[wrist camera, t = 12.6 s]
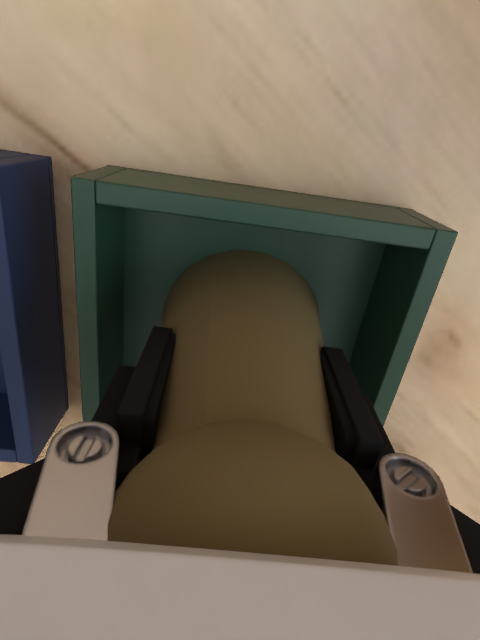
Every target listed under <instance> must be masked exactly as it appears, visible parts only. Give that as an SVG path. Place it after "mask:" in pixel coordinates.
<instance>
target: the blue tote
mask: <svg viewBox="0 0 480 640" xmlns="http://www.w3.org/2000/svg"><path fill="white" fill-rule="evenodd" d="M67 409H68V396H67V381H66V367H65V352H64V338H63V323H62V309H61V294H60V280H59V266H58V251H57V237H56V222H55V208H54V193H53V179H52V165H51V157H49V156H42V155H35V154H28V153H21V152H14V151H7V150H0V461H6V462H19V463H27V464H33V463H35V461H36V460H37V458H38V456H39V455H40V453H41V451H42V450H43V448H44V447H45V445H46V443H47V442H48V440H49V438H50V437H51V435H52V433H53V432H54V430H55V428H56V427H57V425H58V423H59V422H60V420H61V419H62V417H63V415H64V414H65V412H66V411H67Z"/></svg>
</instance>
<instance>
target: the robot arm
mask: <svg viewBox="0 0 480 640" xmlns="http://www.w3.org/2000/svg"><path fill="white" fill-rule="evenodd" d="M172 331H173V329H172V328H167V327H158V326H154V327H153V328H152V331H151V333H150V336H149V338H148V340H147V343H146V345H145V347H144V350H143V352H142V354H141V357H140V359H139V361H138V364H137V366H136V367H133V366H124V365H120V366H119V367H118V368H117V370H116V372H115V374H114V376H113V378H112V380H111V382H110V384H109V386H108V388H107V390H106V392H105V394H104V396H103V398H102V400H101V402H100V404H99V406H98V408H97V410H96V412H95V414H94V416H93V418H92V420H91V421H83V422H78V423H75V424H71V425H69V426H67V427H65V428H63V429H62V430H60V431H59V432H58V433H57V434H56V435H55V436H54V437H53V438H52V440H51V442H50V444H49V447H48V450H47V453H46V457H45V458H44V459H42V460H40V461H38V462H36V463H33V464H31V465H29V466H27V467H24V468H22V469H20V470H18V471H16V472H13V473H11V474H9V475H7V476H4V477H2V478H0V640H480V524H478V523H477V522H475V521H474V520H472V519H471V518H469V517H468V516H466V515H465V514H463V513H462V512H460V511H459V510H457V509H456V508H454V507H453V506H451V505H450V503H449V501H448V498H447V495H446V492H445V489H444V486H443V483H442V481H441V480H440V478H439V476H438V475H437V474H436V472H435V471H434V470H433V469H432V468H431V467H429V466H428V465H427V464H426V463H424V462H423V461H421V460H419V459H417V458H415V457H413V456H410V455H407V454H403V453H395V451H394V449H393V447H392V445H391V443H390V441H389V439H388V437H387V435H386V432H385V430H384V428H383V426H382V424H381V422H380V420H379V418H378V416H377V413H376V411H375V409H374V407H373V405H372V403H371V401H370V399H369V397H368V395H367V394H365V393H362V392H361V390H360V387H359V385H358V383H357V381H356V379H355V377H354V374H353V372H352V370H351V368H350V366H349V363H348V361H347V359H346V357H345V355H344V352H343V350H342V349H340V348H332V347H324V346H323V347H322V348H321V350H322V351H320V360H321V365H322V370H323V376H324V381H325V386H326V391H327V397H328V402H329V407H330V412H331V419H332V427H333V436H334V444H335V452H336V454H337V455H339V456H340V457H341V458H343V459H344V460H345V461H347V462H348V463H349V464H350V465H352V467H353V468H354V469H355V471H356V472H357V474H358V475H359V476H360V478H361V479H362V481H363V482H364V483H365V485H366V486H367V488H368V489H369V491H370V492H371V494H372V496H373V497H374V499H375V501H376V503H377V504H378V506H379V508H380V509H381V511H382V513H383V515H384V516H385V518H386V521H387V524H388V527H389V530H390V532H391V535H392V537H393V540H394V542H395V545H396V547H397V554H398V566H395V565H384V564H373V563H362V562H351V561H341V560H329V559H318V558H307V557H295V556H284V555H272V554H261V553H249V552H237V551H226V550H214V549H202V548H190V547H178V546H165V545H153V544H140V543H128V542H116V541H108V521H109V518H110V515H111V512H112V510H113V504H114V496H115V492H116V490H117V489H118V488H119V486H120V485H121V483H122V482H123V480H124V479H125V477H126V476H127V475H128V473H129V472H130V471H131V470H132V469H133V468H134V467H135V466H136V465H137V464H138V463H140V462H141V461H142V460H143V459H144V458H145V457H146V456H147V455H148V454H150V453H151V451H152V448H153V443H154V438H155V433H156V428H157V423H158V418H159V413H160V408H161V404H162V399H163V395H164V391H165V386H166V382H167V378H168V373H169V369H170V365H171V361H172V356H173V352H174V348H175V343H176V334H175V333H172Z"/></svg>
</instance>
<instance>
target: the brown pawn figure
mask: <svg viewBox="0 0 480 640" xmlns="http://www.w3.org/2000/svg"><path fill="white" fill-rule="evenodd" d="M161 327H167V328H172V329H173V331H172V333H175V334H176V343H175V348H174V352H173V356H172V361H171V365H170V369H169V373H168V378H167V382H166V386H165V391H164V395H163V399H162V404H161V408H160V413H159V418H158V423H157V428H156V433H155V438H154V443H153V448H152V451H151V453H150V454H148V455H147V456H146V457H145V458H144V459H143V460H142V461H141V462H140V463H138V464H137V465H136V466H135V467H134V468H133V469H132V470H131V471H130V472H129V473H128V475H127V476H126V477H125V479H124V480H123V482H122V483H121V485H120V486H119V488H118V489H117V490H116V492H115V496H114V504H113V510H112V512H111V515H110V518H109V521H108V541H116V542H128V543H140V544H153V545H165V546H178V547H190V548H202V549H214V550H226V551H237V552H249V553H261V554H272V555H284V556H295V557H307V558H318V559H329V560H341V561H351V562H362V563H373V564H384V565H395V566H398V554H397V547H396V545H395V542H394V540H393V537H392V535H391V532H390V530H389V527H388V524H387V521H386V518H385V516H384V515H383V513H382V511H381V509H380V508H379V506H378V504H377V503H376V501H375V499H374V497H373V496H372V494H371V492H370V491H369V489H368V488H367V486H366V485H365V483H364V482H363V481H362V479H361V478H360V476H359V475H358V474H357V472H356V471H355V469H354V468H353V467H352V465H350V464H349V463H348V462H347V461H345V460H344V459H343V458H341V457H340V456H339V455H337V454H336V452H335V444H334V436H333V427H332V419H331V412H330V407H329V402H328V397H327V391H326V386H325V381H324V376H323V370H322V365H321V360H320V351H322V350H321V348H322V347H323V344H322V336H321V328H320V319H319V311H318V303H317V300H316V298H315V296H314V294H313V292H312V290H311V288H310V286H309V284H308V282H307V280H306V279H305V278H303V277H302V276H301V275H300V274H299V273H298V272H297V271H296V270H295V269H294V268H293V267H292V266H291V265H290V264H289V263H286V262H284V261H282V260H280V259H278V258H276V257H273V256H271V255H269V254H267V253H264V252H256V251H247V250H239V249H237V250H232V251H227V252H222V253H216V254H212V255H210V256H208V257H206V258H204V259H202V260H201V261H199V262H197V263H195V264H193V265H191V266H190V267H188V268H187V270H186V271H185V272H184V273H183V274H182V275H181V276H180V277H179V278H178V279H177V280H176V282H175V283H174V284H173V285H172V287H171V289H170V292H169V294H168V297H167V299H166V301H165V304H164V306H163V315H162V325H161Z"/></svg>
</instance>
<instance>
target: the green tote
mask: <svg viewBox="0 0 480 640" xmlns="http://www.w3.org/2000/svg"><path fill="white" fill-rule="evenodd" d="M71 194H72V214H73V234H74V254H75V274H76V295H77V315H78V335H79V355H80V375H81V395H82V415H83V421H91V420H92V418H93V416H94V414H95V412H96V410H97V408H98V406H99V404H100V402H101V400H102V398H103V396H104V394H105V392H106V390H107V388H108V386H109V384H110V382H111V380H112V378H113V376H114V374H115V372H116V370H117V368H118V367H119V366H120V365H124V366H133V367H136V366H137V364H138V361H139V359H140V357H141V354H142V352H143V350H144V347H145V345H146V343H147V340H148V338H149V336H150V333H151V331H152V328H153V327H154V326H158V327H161V325H162V315H163V306H164V304H165V301H166V299H167V297H168V294H169V292H170V289H171V287H172V285H173V284H174V283H175V282H176V280H177V279H178V278H179V277H180V276H181V275H182V274H183V273H184V272H185V271H186V270H187V268H188V267H190V266H191V265H193V264H195V263H197V262H199V261H201V260H202V259H204V258H206V257H208V256H210V255H212V254H216V253H222V252H227V251H232V250H237V249H239V250H247V251H256V252H264V253H267V254H269V255H271V256H273V257H276V258H278V259H280V260H282V261H284V262H286V263H289V264H290V265H291V266H292V267H293V268H294V269H295V270H296V271H297V272H298V273H299V274H300V275H301V276H302V277H303V278H305V279H306V280H307V282H308V284H309V286H310V288H311V290H312V292H313V294H314V296H315V298H316V300H317V303H318V311H319V319H320V328H321V336H322V344H323V346H324V347H332V348H340V349H342V350H343V352H344V355H345V357H346V359H347V361H348V363H349V366H350V368H351V370H352V372H353V374H354V377H355V379H356V381H357V383H358V385H359V387H360V390H361V392H362V393H365V394H367V395H368V397H369V399H370V401H371V403H372V405H373V407H374V409H375V411H376V413H377V416H378V418H379V420H380V422H381V424H382V426H384V423H385V420H386V418H387V415H388V413H389V410H390V407H391V405H392V402H393V400H394V397H395V394H396V392H397V389H398V387H399V384H400V382H401V379H402V376H403V374H404V371H405V369H406V366H407V363H408V361H409V358H410V356H411V353H412V350H413V348H414V345H415V343H416V340H417V338H418V335H419V332H420V330H421V327H422V325H423V322H424V319H425V317H426V314H427V312H428V309H429V306H430V304H431V301H432V299H433V296H434V294H435V291H436V288H437V286H438V283H439V281H440V278H441V275H442V273H443V270H444V268H445V265H446V263H447V260H448V257H449V255H450V252H451V250H452V247H453V244H454V242H455V239H456V237H457V234H458V232H457V231H455V230H452V229H450V228H448V227H446V226H444V225H442V224H440V223H438V222H436V221H434V220H432V219H430V218H428V217H426V216H424V215H422V214H420V213H418V212H416V211H414V210H412V209H407V208H400V207H393V206H386V205H379V204H372V203H366V202H359V201H352V200H345V199H338V198H331V197H324V196H317V195H310V194H304V193H297V192H290V191H283V190H276V189H269V188H262V187H255V186H248V185H242V184H235V183H228V182H221V181H214V180H207V179H200V178H193V177H186V176H179V175H173V174H166V173H159V172H152V171H145V170H138V169H131V168H124V167H117V166H111V165H108V166H106V167H102V168H99V169H96V170H93V171H89V172H86V173H83V174H80V175H77V176H73V177H71Z"/></svg>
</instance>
